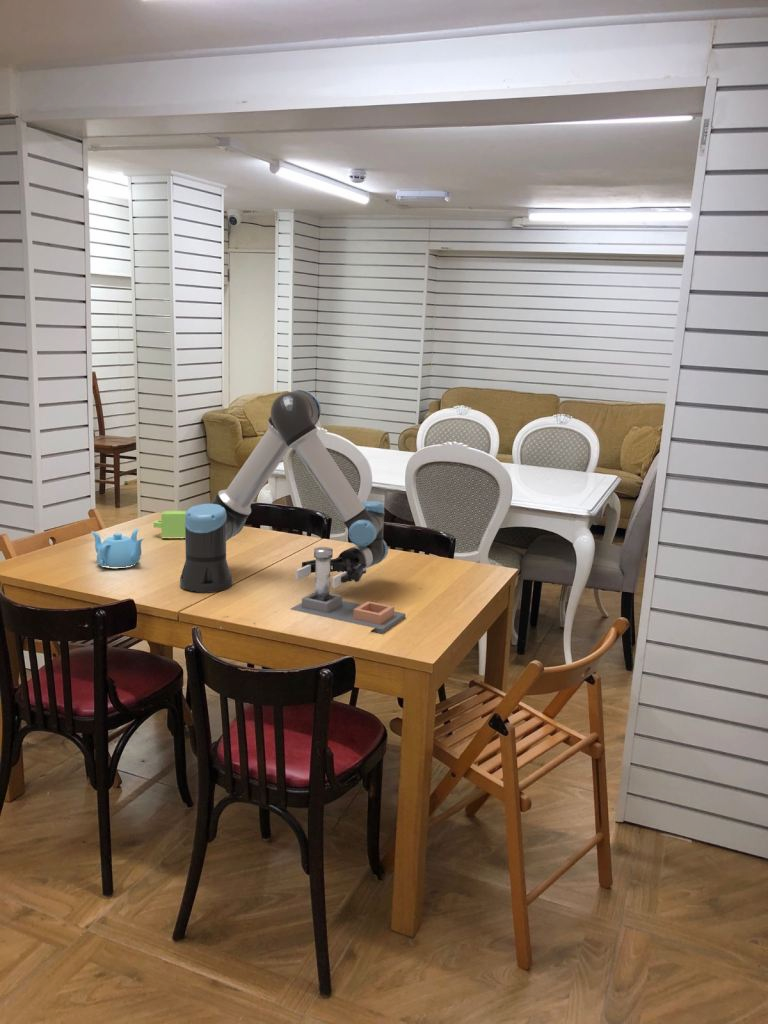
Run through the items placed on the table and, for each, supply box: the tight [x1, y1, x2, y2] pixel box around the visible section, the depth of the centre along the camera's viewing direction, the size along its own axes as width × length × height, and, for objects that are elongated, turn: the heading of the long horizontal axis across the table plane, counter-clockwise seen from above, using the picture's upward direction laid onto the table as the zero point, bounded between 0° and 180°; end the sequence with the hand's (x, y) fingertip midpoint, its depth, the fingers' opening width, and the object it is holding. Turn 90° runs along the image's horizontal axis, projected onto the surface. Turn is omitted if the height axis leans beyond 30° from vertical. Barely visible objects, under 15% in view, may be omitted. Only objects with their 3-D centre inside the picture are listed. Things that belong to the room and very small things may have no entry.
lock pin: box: [313, 546, 334, 602], centre depth 212 cm, size 5×5×16 cm
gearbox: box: [153, 510, 187, 538], centre depth 284 cm, size 18×10×10 cm, turn 103°
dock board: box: [290, 591, 406, 635], centre depth 210 cm, size 28×14×4 cm, turn 63°
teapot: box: [90, 528, 144, 567], centre depth 246 cm, size 15×15×10 cm
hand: (314, 578), depth 208 cm, fingers open, 11 cm apart
